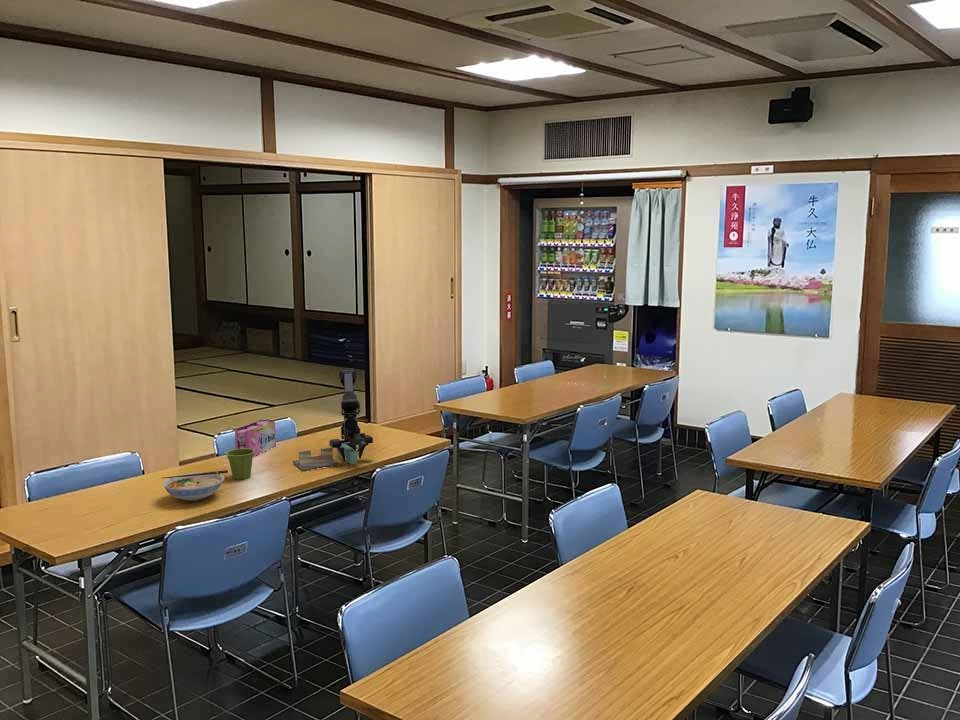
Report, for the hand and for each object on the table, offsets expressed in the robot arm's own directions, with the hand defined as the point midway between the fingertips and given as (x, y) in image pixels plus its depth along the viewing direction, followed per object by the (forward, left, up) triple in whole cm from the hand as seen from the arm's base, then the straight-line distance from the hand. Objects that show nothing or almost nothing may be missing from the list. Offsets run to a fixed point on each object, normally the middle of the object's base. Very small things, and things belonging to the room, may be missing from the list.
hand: (352, 460), depth 360 cm
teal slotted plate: (-6, 0, -2) cm, 7 cm away
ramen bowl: (+18, -70, -2) cm, 72 cm away
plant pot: (-2, -48, -2) cm, 48 cm away
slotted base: (-6, -15, -2) cm, 16 cm away
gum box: (-43, -33, -2) cm, 54 cm away
